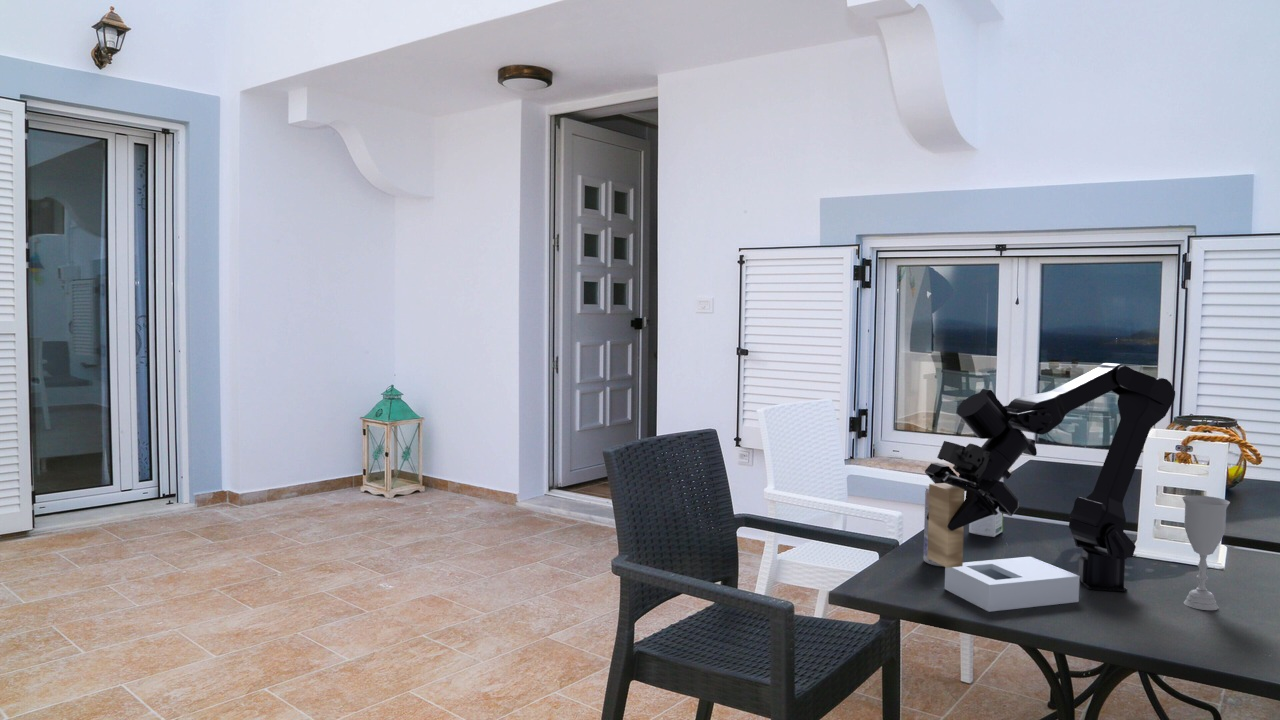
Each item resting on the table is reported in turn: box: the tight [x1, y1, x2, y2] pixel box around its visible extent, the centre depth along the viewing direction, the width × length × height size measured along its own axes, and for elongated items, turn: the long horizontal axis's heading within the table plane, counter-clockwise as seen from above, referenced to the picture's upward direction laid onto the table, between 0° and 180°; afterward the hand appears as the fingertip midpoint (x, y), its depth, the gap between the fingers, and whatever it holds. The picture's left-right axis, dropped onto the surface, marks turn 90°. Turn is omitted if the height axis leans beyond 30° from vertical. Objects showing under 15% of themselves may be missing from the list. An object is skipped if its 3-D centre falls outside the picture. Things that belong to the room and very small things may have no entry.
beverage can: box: [923, 485, 943, 567], centre depth 173 cm, size 6×6×15 cm
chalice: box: [1181, 495, 1231, 611], centre depth 149 cm, size 7×7×18 cm
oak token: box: [928, 483, 966, 568], centre depth 150 cm, size 3×6×13 cm, turn 16°
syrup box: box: [968, 478, 1005, 538], centre depth 196 cm, size 6×6×14 cm
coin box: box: [944, 556, 1080, 613], centre depth 154 cm, size 18×12×4 cm, turn 106°
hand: (938, 524), depth 149 cm, fingers closed on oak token, 5 cm apart
